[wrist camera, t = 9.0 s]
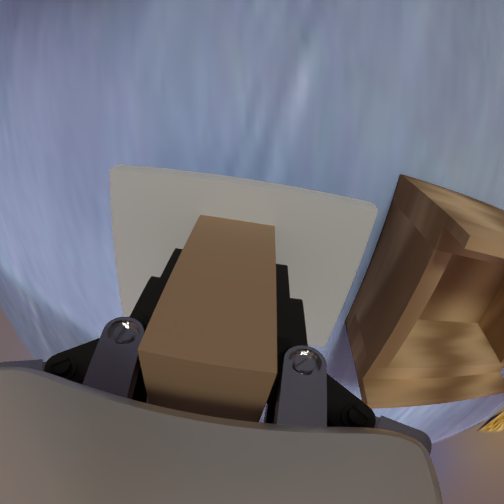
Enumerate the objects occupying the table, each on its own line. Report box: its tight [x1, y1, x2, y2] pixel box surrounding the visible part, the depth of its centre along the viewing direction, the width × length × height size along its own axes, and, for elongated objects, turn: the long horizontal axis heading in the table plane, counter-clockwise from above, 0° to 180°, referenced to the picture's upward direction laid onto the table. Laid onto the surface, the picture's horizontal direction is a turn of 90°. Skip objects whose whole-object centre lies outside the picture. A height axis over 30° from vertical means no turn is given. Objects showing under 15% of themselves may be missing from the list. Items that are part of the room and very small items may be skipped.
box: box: [345, 174, 504, 409], centre depth 13 cm, size 12×10×7 cm
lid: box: [110, 164, 378, 422], centre depth 11 cm, size 11×8×8 cm
